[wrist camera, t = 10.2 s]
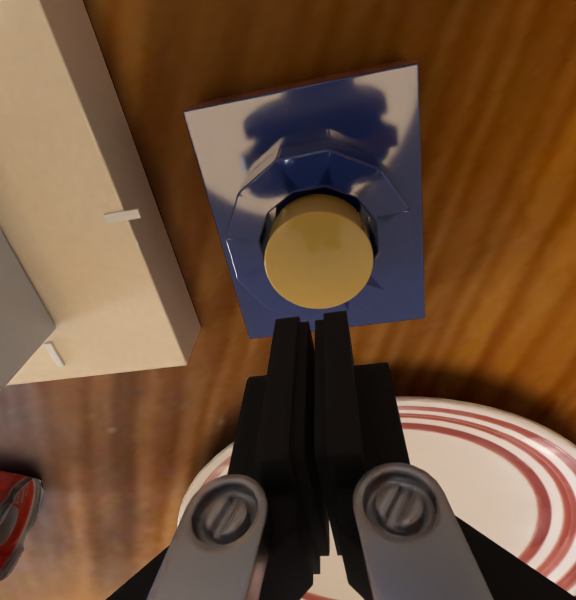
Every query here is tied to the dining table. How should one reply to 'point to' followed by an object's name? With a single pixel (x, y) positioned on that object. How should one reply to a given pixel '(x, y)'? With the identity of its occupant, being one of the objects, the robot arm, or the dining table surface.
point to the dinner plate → (475, 485)
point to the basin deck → (82, 204)
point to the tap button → (318, 252)
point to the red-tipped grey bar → (18, 316)
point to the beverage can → (16, 516)
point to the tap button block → (318, 182)
